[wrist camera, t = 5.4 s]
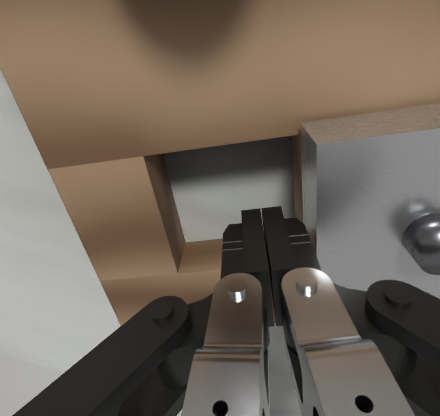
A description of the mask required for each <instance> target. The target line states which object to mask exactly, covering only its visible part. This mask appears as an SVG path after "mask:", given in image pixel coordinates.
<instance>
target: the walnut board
mask: <svg viewBox="0 0 440 416" xmlns="http://www.w3.org/2000/svg"><path fill="white" fill-rule="evenodd" d="M0 69H1V71H2V73H3V75H4V77H5V79H6V82H7V84H8V86H9V88H10V90H11V92H12V94H13V96H14V99H15V101H16V103H17V105H18V107H19V109H20V111H21V114H22V116H23V118H24V120H25V122H26V124H27V126H28V129H29V131H30V133H31V135H32V137H33V139H34V141H35V143H36V146H37V148H38V150H39V152H40V154H41V156H42V158H43V161H44V163H45V165H46V167H47V169H48V171H49V173H50V175H51V178H52V180H53V182H54V184H55V186H56V188H57V190H58V193H59V195H60V197H61V199H62V201H63V203H64V205H65V207H66V210H67V212H68V214H69V216H70V218H71V220H72V222H73V225H74V227H75V229H76V231H77V233H78V235H79V237H80V239H81V242H82V244H83V246H84V248H85V250H86V252H87V254H88V257H89V259H90V261H91V263H92V265H93V267H94V269H95V272H96V274H97V276H98V278H99V280H100V282H101V284H102V286H103V289H104V291H105V293H106V295H107V297H108V299H109V301H110V304H111V306H112V308H113V310H114V312H115V314H116V316H117V318H118V321H119V323H120V325H121V326H122V325H123V324H124V323H125V322H127V321H128V320H129V319H130V318H131V317H133V316H134V315H135V314H136V313H138V312H139V311H140V310H141V309H142V308H144V307H145V306H146V305H147V304H149V303H150V302H151V301H153V300H155V299H157V298H160V297H163V296H177V297H180V298H182V299H183V300H184V301H185V302H186V304H190V303H193V302H196V301H199V300H202V299H204V298H206V297H208V296H209V295H211V294H212V293H213V291H214V288H215V285H216V284H217V283H218V281H219V280H220V279H221V263H222V246H223V239H217V240H207V241H197V242H188V243H185V240H184V236H183V232H182V228H181V225H180V221H179V217H178V213H177V209H176V205H175V202H174V198H173V194H172V190H171V186H170V183H169V179H168V175H167V171H166V167H165V164H164V160H163V156H162V154H163V153H170V152H177V151H184V150H192V149H199V148H206V147H213V146H221V145H228V144H235V143H242V142H249V141H257V140H264V139H271V138H278V137H285V136H291V144H292V168H293V192H294V216H295V218H297V219H299V220H300V221H301V222H302V223H303V201H302V163H301V124H300V123H303V122H310V121H317V120H324V119H331V118H338V117H345V116H352V115H359V114H366V113H373V112H380V111H387V110H394V109H401V108H408V107H415V106H422V105H429V104H436V103H440V0H0ZM271 297H272V293H271ZM272 308H273V319H274V323H276V321H275V314H274V307H273V300H272Z"/></svg>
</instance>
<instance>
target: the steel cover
mask: <svg viewBox="0 0 440 416" xmlns="http://www.w3.org/2000/svg"><path fill="white" fill-rule="evenodd" d="M300 124H301V163H302V201H303V224H305V226H306V229H307V232H308V235H309V237H310V240H311V243H312V245H313V248H314V251H315V254H316V256H317V259H318V262H319V264H320V267H321V270H322V272H323V273H325V274H326V275H327V276H328V277H329V278H330V279H331V281H332V282H333V283H335V284H337V285H339V286H342V287H345V288H349V289H355V290H361V291H367V290H368V288H369V286H370V285H371V284H373V283H375V282H377V281H380V280H398V281H402V282H405V283H408V284H410V285H413V286H415V287H417V288H419V289H421V290H423V291H425V292H427V293H429V294H431V295H433V296H435V297H437V298H439V299H440V103H436V104H429V105H422V106H415V107H408V108H401V109H394V110H387V111H380V112H373V113H366V114H359V115H352V116H345V117H338V118H331V119H324V120H317V121H310V122H303V123H300Z"/></svg>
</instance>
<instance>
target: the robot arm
mask: <svg viewBox="0 0 440 416" xmlns="http://www.w3.org/2000/svg"><path fill="white" fill-rule="evenodd" d="M241 213H242V223H240V224H230V225H229V226H228V227H227V228H226V230H225V231H224V233H223V246H222V263H221V279H220V280H219V281H218V283H217V284H216V285H215V288H214V291H213V293H212V294H211V295H209V296H208V297H206V298H204V299H202V300H199V301H196V302H193V303H190V304H186V302H185V301H184V300H183V299H182V298H180V297H177V296H163V297H160V298H157V299H155V300H153V301H151V302H150V303H149V304H147V305H146V306H145V307H144V308H142V309H141V310H140V311H139V312H138V313H136V314H135V315H134V316H133V317H131V318H130V319H129V320H128V321H127V322H125V323H124V324H123V325H122V326H121V327H119V328H118V329H117V330H116V331H115V332H113V333H112V334H111V335H110V336H108V337H107V338H106V339H105V340H104V341H102V342H101V343H100V344H99V345H98V346H96V347H95V348H94V349H93V350H91V351H90V352H89V353H88V354H87V355H85V356H84V357H83V358H82V359H81V360H79V361H78V362H77V363H76V364H75V365H73V366H72V367H71V368H70V369H68V370H67V371H66V372H65V373H64V374H62V375H61V376H60V377H59V378H58V379H56V380H55V381H54V382H53V383H51V384H50V385H49V386H48V387H47V388H46V389H44V390H43V391H42V392H41V393H40V394H38V395H37V396H36V397H35V398H33V399H32V400H31V401H30V402H28V403H27V404H26V405H25V406H24V407H22V408H21V409H20V410H19V411H18V412H16V413H15V414H14V415H13V416H177V414H178V413H179V412H180V411H181V410H182V413H181V416H270V386H269V349H268V346H269V342H270V338H269V328H268V327H271V326H274V319H273V308H272V300H273V307H274V314H275V321H276V326H283V328H284V334H285V346H286V352H287V356H288V360H289V364H290V368H291V372H292V376H293V380H294V384H295V388H296V392H297V396H298V400H299V405H300V409H301V413H302V416H440V299H439V298H437V297H435V296H433V295H431V294H429V293H427V292H425V291H423V290H421V289H419V288H417V287H415V286H413V285H410V284H408V283H405V282H402V281H398V280H380V281H377V282H375V283H373V284H371V285H370V286H369V288H368V290H367V291H361V290H355V289H349V288H345V287H342V286H339V285H337V284H335V283H333V282H332V281H331V279H330V278H329V277H328V276H327V275H326V274H325V273H323V272H322V270H321V267H320V264H319V262H318V259H317V256H316V254H315V251H314V248H313V245H312V243H311V240H310V237H309V235H308V232H307V229H306V226H305V224H303V223H302V222H301V221H300V220H299V219H297V218H288V219H284V217H283V213H282V209H281V206H278V207H269V208H262V218H261V211H260V209H251V210H242V211H241ZM262 219H263V225H262ZM263 229H264V232H263ZM271 293H272V297H271ZM182 408H183V409H182Z"/></svg>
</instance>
